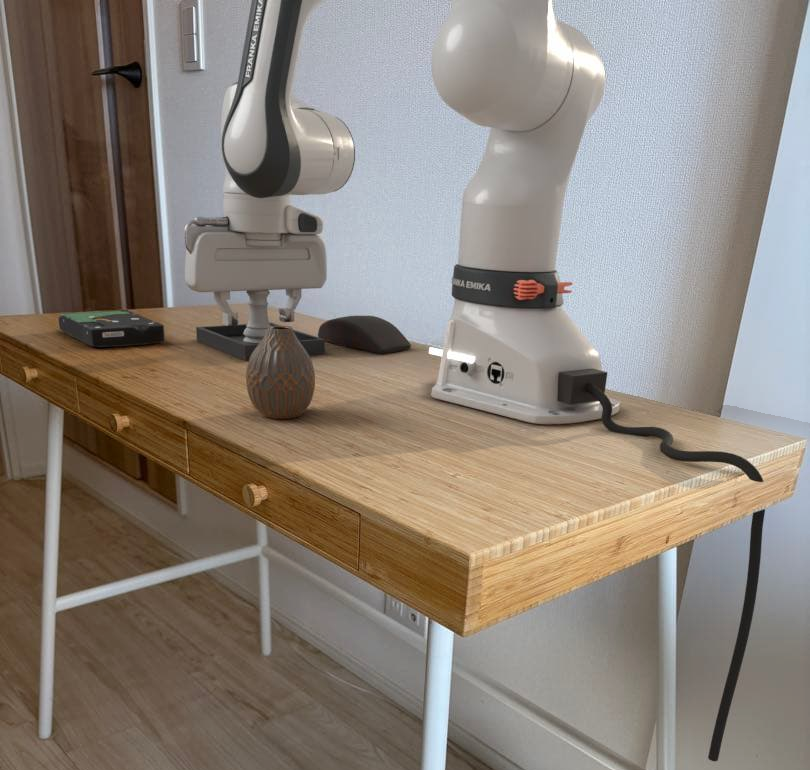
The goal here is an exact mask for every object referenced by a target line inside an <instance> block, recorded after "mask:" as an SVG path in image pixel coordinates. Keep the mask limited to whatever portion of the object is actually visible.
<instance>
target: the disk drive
mask: <svg viewBox="0 0 810 770" xmlns="http://www.w3.org/2000/svg"><path fill="white" fill-rule="evenodd" d="M57 320H58V325H59V326H58V327H59V330H60V331H61V332H62V333H65V334H67V335H68V336H70V337H73V338H74V339H76V340H78V341H80V342H82V343H83V344H86V345H87V346H90V347H97V348H101V347H102V348H103V347H109V348H111V347H128V346H140V345H141V346H142V345H148V344H156V343H158V344H160V343H164V342H166V339H165V338H166V336H165V335H166V334H165V325H164V324H162V323H160V322H158V321H155V320H152V319H150V318H147V317H146V316H143V315H140V314H138V313H135V312H133V311H129V310H127V309H117V310H116V309H115V310H114V309H113V310H94V311H92V310H91V311H84V312H68V313H67V312H61V313H60V315H59V317H58V319H57Z"/></svg>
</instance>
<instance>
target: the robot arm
mask: <svg viewBox="0 0 810 770" xmlns="http://www.w3.org/2000/svg"><path fill="white" fill-rule="evenodd" d="M326 1H327V0H251V3H250V8H249V13H248V14H249V15H248V20H247V27H246V32H245V38H244V44H243V49H242V56H241V60H240V67H239V73H238V77H237V81H236V82H234V83H233V84H231V85H230V86H228V87H227V88H226V90H225V93H224V97H223V101H222V105H221V117H220V152H221V153H220V154H221V159H222V163H223V167H224V182H223V185H222V208H223V210H222V211H223V212H222V213H223V216H211V217H205V216H195V217H194V218H193V219H192V220H190V221H189V222H187V223H186V225H185V227H184V229H183V235H184V236H183V240H184V241H183V242H184V246H185V248H186V249H185V259H184V283H185V284H186V285H187V287H188V288H189V289H190V290H191V291H194V292H197V293H213V299H214V301H215V303H216V304H217V306H218V307H219V310H220V311H221V312H222V324H223V325H226V326H232V325H239V320H238V318H239V312H238V311H235V310H232V309H231V306H230V304H229V303H228V301H230V299H231V292H247V291H254V290H269V291H279V290H281V291H282V290H285V296H287V297H288V298H287V300H286V302H285V305H284V307H279V308H278V314H279V316H278V317H279V321H280V322H281V323H293V322H295V310H296V308H297V306H298V305H299V303H300V301H301V299H302V290H307V289H308V290H310V289H322V288H323V286H324V285H325V284H326V282H327V278H328V260H327V249H326V248H327V247H326V244H325V241H324V238H323V237H321V236H320V234H322V233H323V230H324V220H323V219H322V217H320V216H318V215H315V214H313V213H311V212H308V211H305V210H303V209H301V208H298V207H297V206H293V205H292V204H291V196H309V195H320V196H321V195H326V194H330V193H334V192H337V191H339V190H341V189H342V188H343V187H344V186H345V185H346V184H347V183H348V181H349V179H350V177H352V173H353V171H354V167H355V163H356V146H355V141H354V138H353V135H352V132H351V131H350V128H349V127H348V126H347V124H346V123H345V122H344V121H343V120H342V119H340V118H339V117H338V116H334V115H332V114H330V113H327V112H325V111H323V110H320V109H318V108H316V107H313V106H312V105H309V104H307V102H303V100H300V99H299V98H298V97H296V96H295V95H293V94H292V92H293V88H294V87H293V86H294V81H295V75H296V70H297V67H298V66H297V65H298V59H299V55H300V49H301V44H302V38H303V34H304V30H305V27H306V25H307V22H308V20H309V18H310V16H311V15H312V14H313V12H314V11H315V10H316V9H317V8H318V7H319V6H320V5H321V4H323V3H324V2H326ZM431 51H432V52H431V62H430V63H431V76H432V81H433V84H434V87H435V89H436V91H437V93H438V96H439V97H440V98H441V100H442V101H443V102H444V103H445V104H446V105H447V106H448V107H450V108H451V109H452V110H453V111H454V112H456V113H457V114H458V115H460V116H462V117H463V118H464V119H466V120H468V121H469V122H470V123H473V124H475V125H477V126H481V127H486V128H489V134H488V138H487V142H486V146H485V149H484V153H483V155H482V158H481V161H480V163H479V166H478V167H477V169H476V172H475V173H474V175H473V176H472V178H470V180H469V181H468V183H467V184H466V186H465V188H464V190H463V194H462V200H461V214H460V225H459V226H460V228H459V241H458V256H457V263H456V264H455V265H454V266H453V273H452V276H451V296H452V298H454V301H453V307H452V311H451V314H450V317H449V320H448V321H447V323H446V328H445V334H444V339H443V346H442V349H441V348H435V347H429V349H428V354H430V355H435V356H438V357H441V359H440V365H439V371H438V376H437V378H436V381H435V384H434V385H433V386H432V388H431V392H430V397H431V398H433V399H436V400H441V401H445V402H448V403H451V404H456V405H460V406H463V407H467V408H472V409H475V410H479V411H483V412H487V413H491V414H495V415H499V416H503V417H506V418H511V419H515V420H518V421H523V422H527V423H530V424H534V425H535V424H537V425H564V424H565V425H566V424H576V423H583V422H589V421H595V420H601V423H602V424H603V426H604V427H605V429H607V430H608V431H609V432H611V433H615V434H621V435H627V436H637V437H655V438H658V439H661V442H660V444H659V450H660V452H661V453H662V454H663V455H664V456H665V457H667V458H669V459H671V460H674V461H679V462H687V463H688V462H689V463H721V464H728V465H730V466H734V467H736V468H738V469H739V470H740V471H742V472H743V473H744V474H745V476H747V478H748V479H749V480H751V481H753V482H757V483H763V482H764V478H763V477H762V474H761V473H760V471H759V470H758V469H757V468H756V466H755V465H753V463H751V462H750V460H748V459H746V458H744V457H742V456H740V455H738V454H735V453H731V452H727V451H717V450H716V451H714V450H697V451H695V450H694V451H693V450H683V449H677V448H674V447H672V445H673V442H674V436H673V434H672V433H671V432H670V431H669V430H666V429H665V428H662V427H659V426H658V427H657V426H624V425H620V424H619V423H616V422H615V421H614V420H613V419H612V416H614V415H617V413H619V412H620V405H621V403H620V401H619V400H616V399H614V398H611V397H609V396H608V395H607V394H606V393H605V392H606V387H607V381H608V371H604V370H603V368H602V367H603V366H602V360H601V356H600V353H599V352H598V351H597V349H596V348H595V347H594V346H593V344H591V342H590V341H589V339H588V338H587V337H586V336H585V335H584V334H583V332H582V331H581V330H580V329H579V327H578V326H577V325H576V323H575V322H574V321H573V320H572V318H571V317H570V316H569V315H568V314H567V312H566V311H565V310H564V308H563V305H564V304H565V303H564V298H563V294H571V293H572V290H569V289H565V288H566V287H570V286H573V282H572V281H565V282H564V281H563V282H562V281H561V279H560V276H559V272H558V270H556V265H557V257H558V248H559V242H560V241H559V240H560V232H561V224H562V217H563V207H564V204H565V203H564V202H565V197H566V192H567V188H568V185H569V184H568V183H569V181H570V177H571V173H572V171H573V168H574V164H575V160H576V157H577V155H578V151H579V148H580V145H581V142H582V138H583V136H584V133H585V130H586V127H587V125H588V123H589V120H590V119H591V118H592V116H593V115H594V114H595V113H596V111H597V110H598V107H599V106H600V103H601V102H602V100H603V97H604V96H603V95H604V93H605V88H606V87H605V86H606V71H605V66H604V63H603V60H602V58H601V55H600V54H599V52H598V51H597V49H596V48H595V46H594V45H593V44H592V42H591V41H590V40H589V39H588V38H587V36H586V35H585V34H584V33H583V32H582V31H581V30H579V29H577V27H574V26H572V25H570V24H567V23H565V22H562V21H559V20H558V19H557V17H556V14H555V12H554V6H553V0H452V1H451V5H450V11H449V14H448V15H447V17H446V18H445V20H444V21H443V23H442V24H441V26H440V28H439V30H438V32H437V34H436V36H435V39H434V43H433V46H432V50H431ZM193 224H194V225H193ZM765 514H766V508H764V509H760V510H757V511H755V512H752V518H751V525H750V534H749V535H750V537H749V552H748V553H749V554H748V566H747V575H746V576H747V577H746V584H745V585H746V586H745V592H744V599H743V604H742V609H741V617H740V621H739V627H738V632H737V636H736V641H735V644H734V648H733V653H732V656H731V660H730V661H731V662H730V665H729V668H728V673H727V677H726V681H725V684H724V688H723V690H722V691H723V692H722V696H721V698H720V704H719V707H718V712H717V716H716V719H715V724H714V726H713V727H714V728H713V733H712V736H711V742H710V746H709V751H708V756H707V759H708V760H709V761H711V762H718V761H719V758H720V752H721V747H722V744H723V743H722V742H723V739H724V738H723V737H724V734H725V730H726V725H727V721H728V718H729V714H730V711H731V710H730V709H731V705H732V702H733V698H734V695H735V691H736V687H737V683H738V679H739V676H740V673H741V668H742V665H743V661H744V657H745V653H746V648H747V645H748V642H749V641H748V640H749V636H750V631H751V627H752V621H753V617H754V612H755V606H756V599H757V594H758V593H757V592H758V586H759V577H760V569H761V568H760V567H761V559H762V558H761V557H762V545H763V544H762V542H763V528H764V521H765Z"/></svg>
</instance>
